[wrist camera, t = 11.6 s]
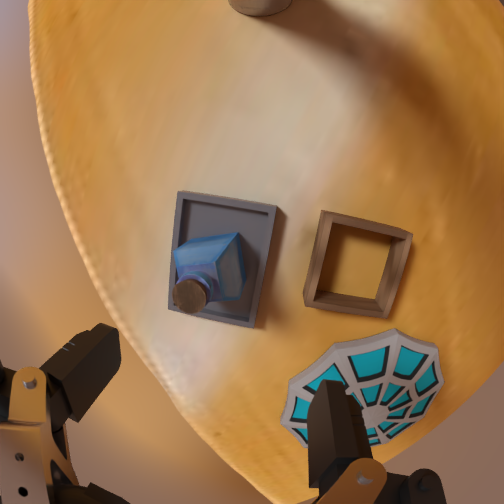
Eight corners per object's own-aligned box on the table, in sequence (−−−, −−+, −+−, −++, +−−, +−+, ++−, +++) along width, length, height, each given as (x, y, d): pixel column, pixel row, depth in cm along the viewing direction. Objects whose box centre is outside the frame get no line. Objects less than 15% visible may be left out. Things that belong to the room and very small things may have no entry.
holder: (321, 209, 33) (326, 213, 29) (400, 228, 32) (413, 234, 28) (302, 293, 36) (304, 306, 32) (377, 305, 35) (387, 318, 31)
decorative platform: (249, 378, 41) (245, 399, 36) (418, 292, 34) (433, 306, 29) (322, 459, 46) (324, 476, 41) (444, 403, 39) (453, 418, 34)
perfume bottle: (191, 238, 34) (149, 267, 23) (238, 232, 34) (215, 259, 22) (200, 284, 36) (166, 329, 24) (246, 279, 35) (229, 326, 23)
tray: (183, 190, 34) (177, 191, 32) (276, 205, 33) (276, 207, 31) (173, 303, 38) (167, 309, 36) (255, 321, 37) (253, 328, 35)
